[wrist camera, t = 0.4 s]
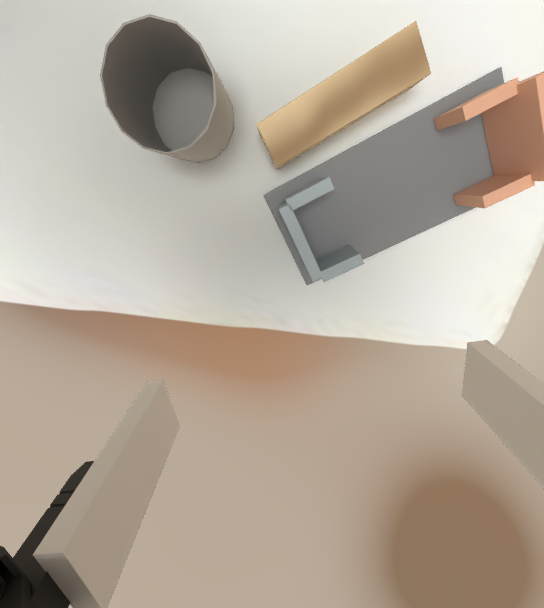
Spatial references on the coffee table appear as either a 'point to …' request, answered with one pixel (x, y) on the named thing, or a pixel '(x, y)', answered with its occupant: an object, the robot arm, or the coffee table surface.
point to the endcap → (505, 138)
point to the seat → (383, 188)
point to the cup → (166, 90)
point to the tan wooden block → (346, 96)
